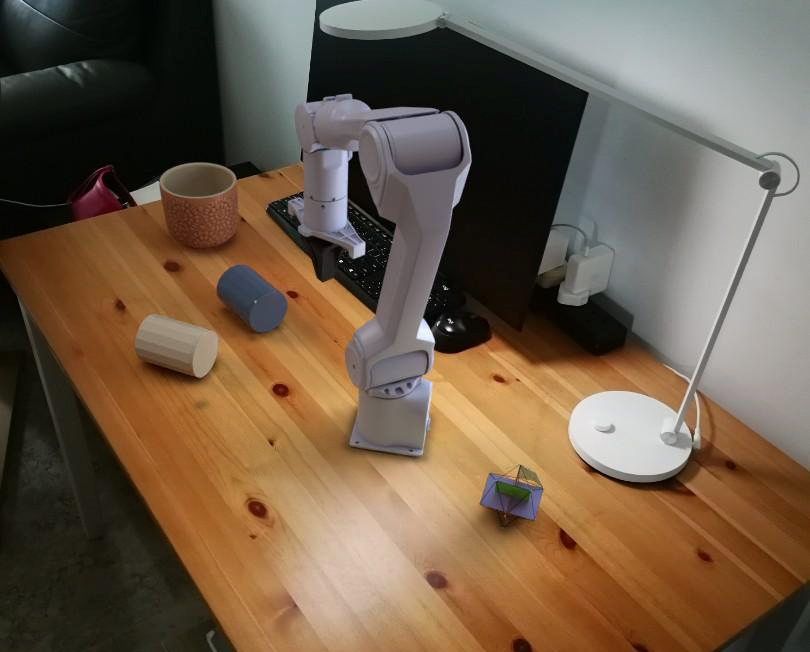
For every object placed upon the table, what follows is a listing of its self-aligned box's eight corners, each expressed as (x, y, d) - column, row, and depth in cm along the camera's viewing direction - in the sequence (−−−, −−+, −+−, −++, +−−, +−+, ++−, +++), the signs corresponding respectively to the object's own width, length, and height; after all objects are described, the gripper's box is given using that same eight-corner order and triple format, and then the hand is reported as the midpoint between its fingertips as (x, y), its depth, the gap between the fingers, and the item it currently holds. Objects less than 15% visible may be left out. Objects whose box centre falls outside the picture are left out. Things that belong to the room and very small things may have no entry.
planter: (256, 234, 146) (252, 177, 139) (206, 265, 138) (200, 206, 131) (202, 211, 151) (196, 154, 144) (151, 240, 143) (142, 181, 136)
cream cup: (221, 326, 118) (165, 309, 120) (195, 336, 112) (137, 319, 114) (215, 370, 120) (160, 353, 122) (190, 383, 114) (132, 365, 116)
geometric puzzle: (529, 543, 96) (547, 476, 96) (471, 525, 98) (488, 459, 97) (533, 530, 103) (550, 468, 103) (479, 514, 105) (495, 452, 104)
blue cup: (295, 301, 127) (262, 274, 132) (267, 285, 121) (233, 257, 126) (270, 338, 127) (237, 309, 132) (241, 324, 122) (208, 294, 127)
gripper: (268, 177, 112) (272, 264, 121) (335, 223, 105) (334, 312, 113) (311, 164, 116) (311, 248, 125) (379, 207, 108) (374, 294, 117)
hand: (325, 278), depth 119 cm, fingers closed
